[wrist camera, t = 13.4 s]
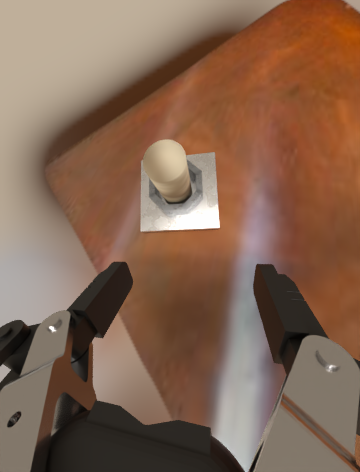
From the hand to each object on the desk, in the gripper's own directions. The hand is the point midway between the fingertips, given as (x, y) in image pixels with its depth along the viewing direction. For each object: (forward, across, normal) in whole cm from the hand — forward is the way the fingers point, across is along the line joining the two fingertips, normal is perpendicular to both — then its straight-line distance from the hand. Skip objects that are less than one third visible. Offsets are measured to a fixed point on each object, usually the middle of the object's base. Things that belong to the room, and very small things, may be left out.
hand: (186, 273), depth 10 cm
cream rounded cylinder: (+20, +4, 0) cm, 21 cm away
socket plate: (+22, +5, 0) cm, 22 cm away
